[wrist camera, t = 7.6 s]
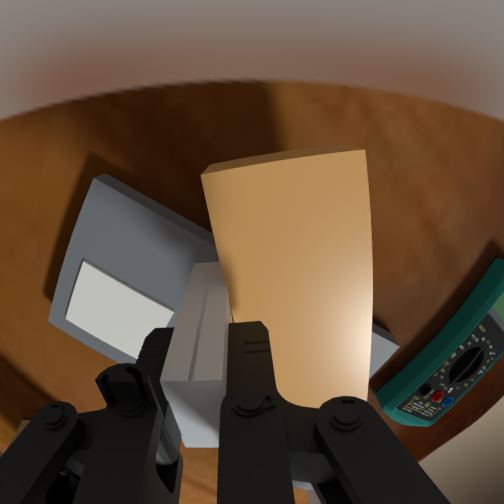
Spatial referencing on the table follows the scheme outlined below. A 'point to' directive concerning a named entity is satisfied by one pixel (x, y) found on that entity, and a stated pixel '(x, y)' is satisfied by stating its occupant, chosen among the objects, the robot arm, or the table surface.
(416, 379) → the digital multimeter
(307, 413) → the robot arm
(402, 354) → the table surface
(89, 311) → the panel
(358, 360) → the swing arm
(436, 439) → the table surface
